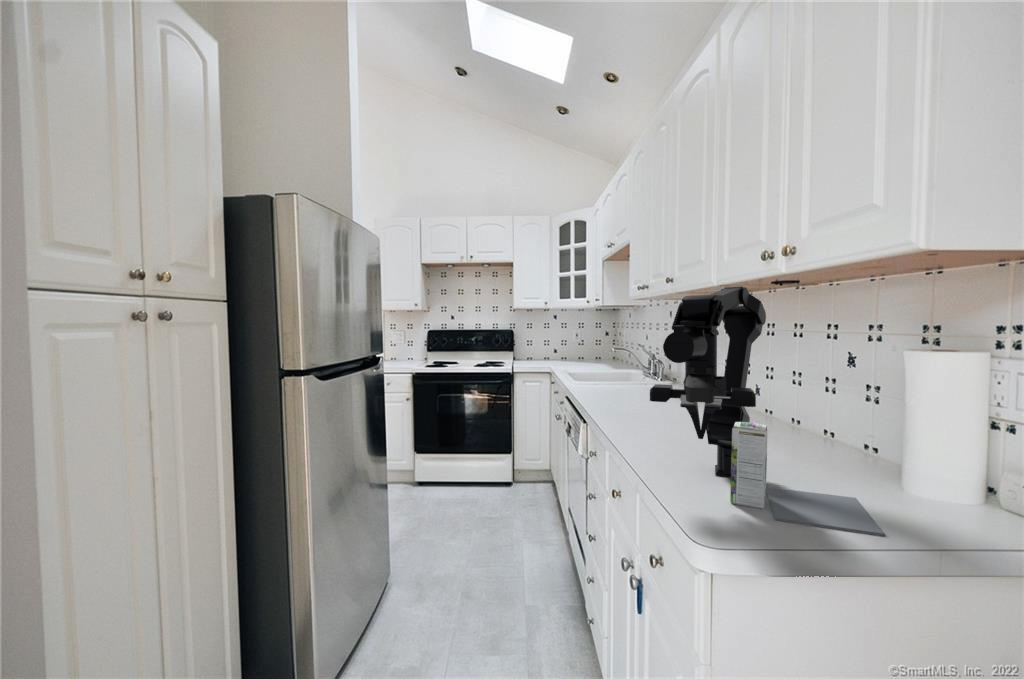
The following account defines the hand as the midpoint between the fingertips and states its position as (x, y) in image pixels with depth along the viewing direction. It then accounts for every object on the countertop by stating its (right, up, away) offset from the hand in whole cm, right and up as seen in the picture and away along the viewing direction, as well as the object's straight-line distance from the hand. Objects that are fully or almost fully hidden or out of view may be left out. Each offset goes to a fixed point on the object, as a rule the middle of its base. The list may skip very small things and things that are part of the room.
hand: (700, 438), depth 89 cm
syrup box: (+8, -11, -4) cm, 14 cm away
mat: (+18, -11, -8) cm, 22 cm away
